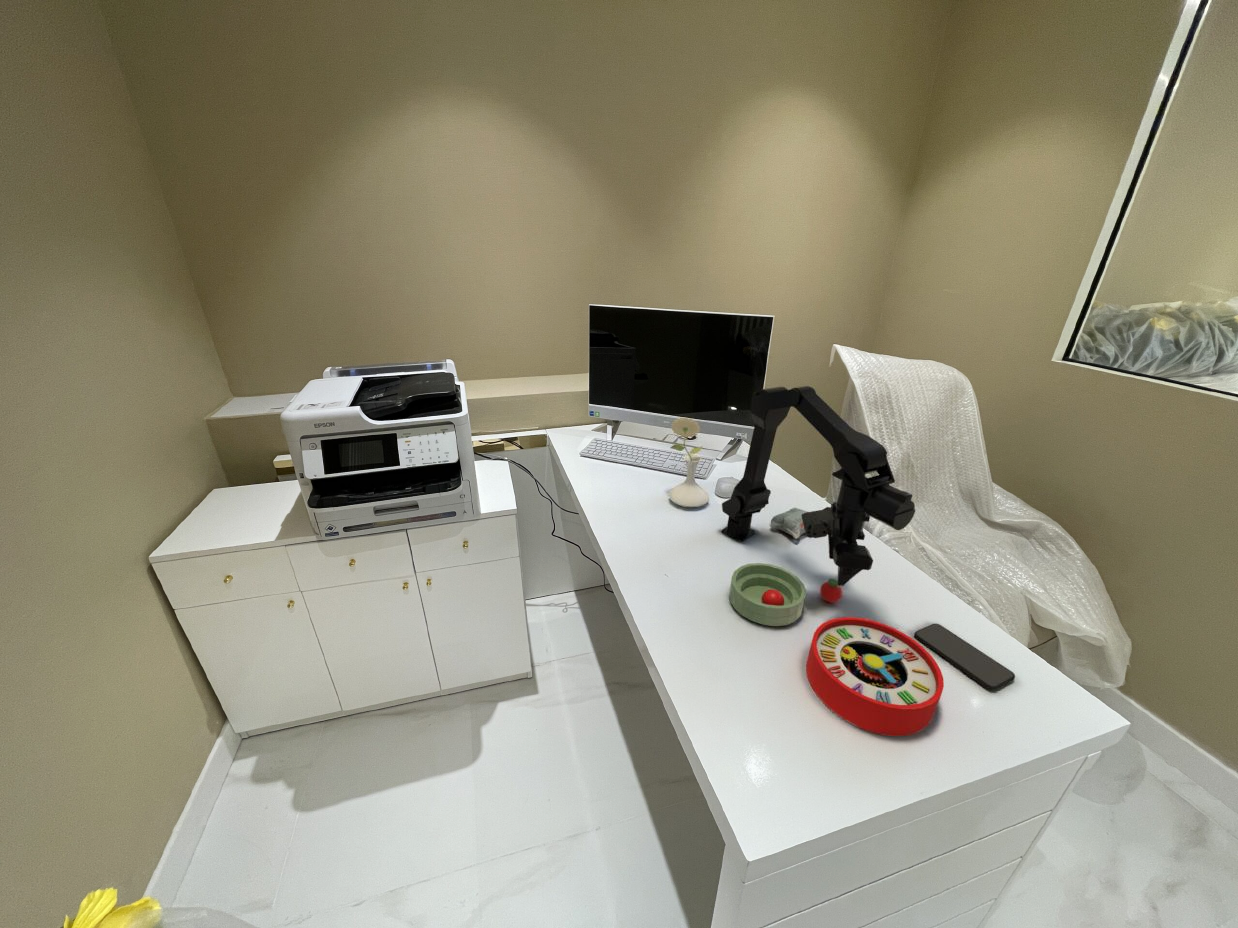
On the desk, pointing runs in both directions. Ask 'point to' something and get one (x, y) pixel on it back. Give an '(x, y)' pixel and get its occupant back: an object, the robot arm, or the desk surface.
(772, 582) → the bowl
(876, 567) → the desk surface
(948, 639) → the smartphone
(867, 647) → the toy clock
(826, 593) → the red toy tomato
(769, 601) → the red round piece
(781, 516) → the packaged food
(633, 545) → the desk surface
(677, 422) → the flower in vase
